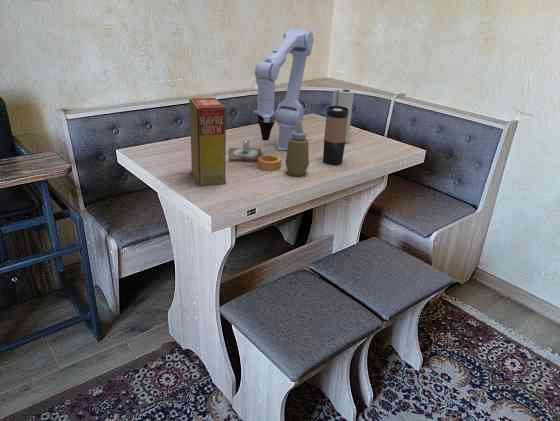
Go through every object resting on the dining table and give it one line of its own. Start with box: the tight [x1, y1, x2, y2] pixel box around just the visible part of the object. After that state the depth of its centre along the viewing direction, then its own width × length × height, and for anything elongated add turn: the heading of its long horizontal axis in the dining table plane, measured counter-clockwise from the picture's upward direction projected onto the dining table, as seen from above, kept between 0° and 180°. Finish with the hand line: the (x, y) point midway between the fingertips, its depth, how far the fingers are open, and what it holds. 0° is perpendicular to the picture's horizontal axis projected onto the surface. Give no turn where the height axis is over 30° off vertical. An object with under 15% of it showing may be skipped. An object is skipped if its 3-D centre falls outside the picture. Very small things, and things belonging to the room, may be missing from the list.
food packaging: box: [188, 97, 227, 187], centre depth 146 cm, size 13×9×25 cm
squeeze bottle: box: [285, 121, 310, 177], centre depth 154 cm, size 8×8×18 cm
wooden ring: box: [257, 154, 282, 172], centre depth 162 cm, size 8×8×3 cm
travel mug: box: [322, 105, 348, 166], centre depth 165 cm, size 8×8×20 cm
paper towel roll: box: [331, 88, 355, 145], centre depth 187 cm, size 7×6×21 cm
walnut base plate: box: [228, 147, 263, 163], centre depth 171 cm, size 12×12×1 cm
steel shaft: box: [241, 139, 250, 154], centre depth 170 cm, size 2×2×5 cm
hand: (264, 136), depth 163 cm, fingers open, 7 cm apart
